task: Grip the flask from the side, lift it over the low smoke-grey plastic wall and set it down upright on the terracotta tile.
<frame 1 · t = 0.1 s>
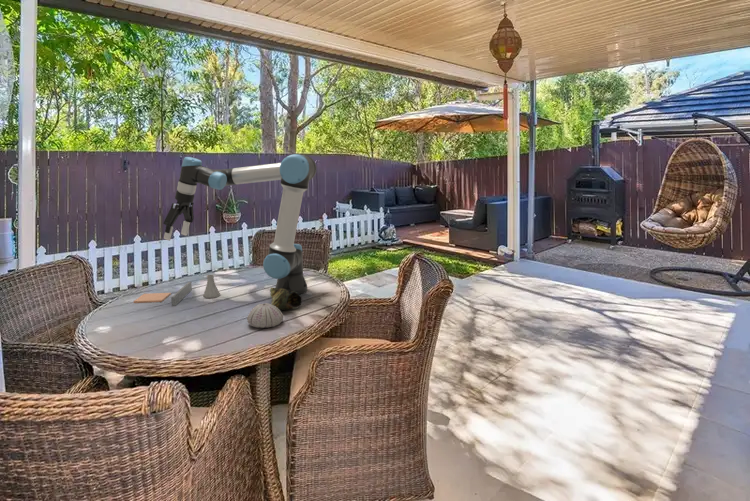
hand: (175, 237, 202), 28 cm above the table, tool tilted 20°, fingers open, 13 cm apart
terracotta tile: (152, 298, 203), on the table
flask: (211, 296, 206), on the table
seashell: (285, 311, 185), on the table
low wall: (182, 297, 204), on the table
sea urchin shell: (265, 324, 170), on the table
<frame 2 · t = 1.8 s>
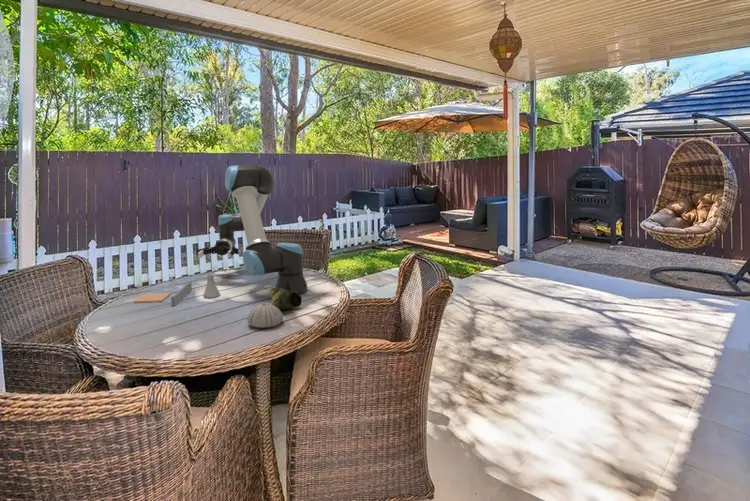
hand: (213, 255, 212), 17 cm above the table, tool horizontal, fingers open, 13 cm apart
nothing on the table moved.
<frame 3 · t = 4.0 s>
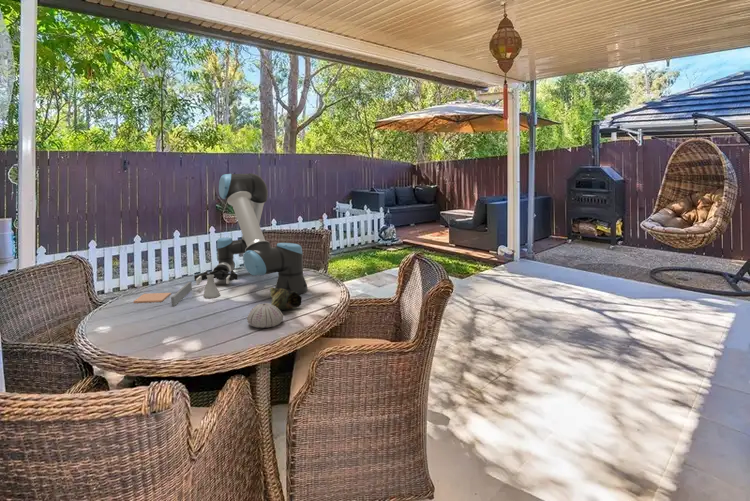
hand: (212, 281, 209), 6 cm above the table, tool horizontal, fingers open, 13 cm apart
nothing on the table moved.
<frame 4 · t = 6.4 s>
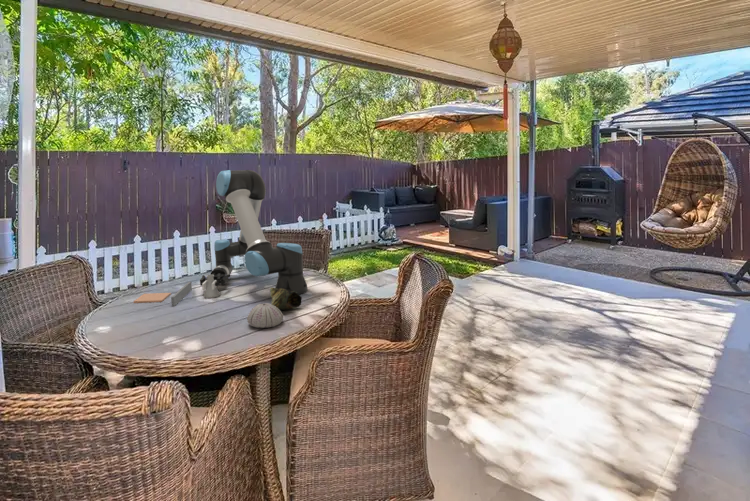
hand: (207, 286, 199), 6 cm above the table, tool horizontal, fingers closed on flask, 3 cm apart
flask: (211, 296, 206), on the table, touching gripper
everything else where it was.
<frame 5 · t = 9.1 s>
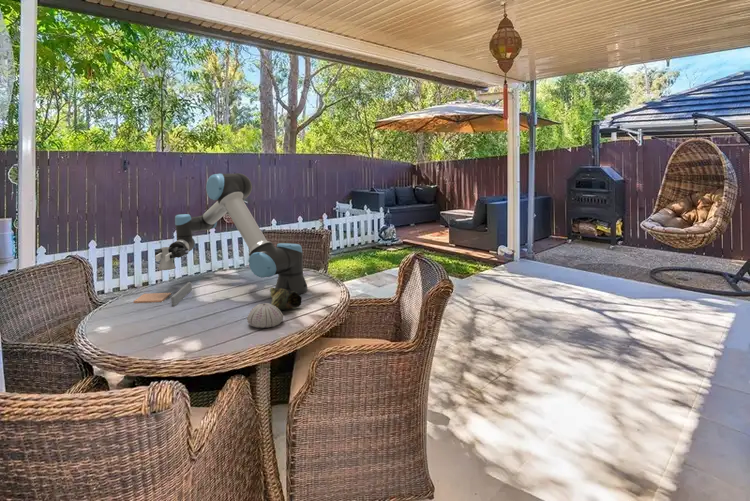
hand: (161, 258, 197), 19 cm above the table, tool horizontal, fingers closed on flask, 3 cm apart
flask: (167, 269, 204), point 13 cm above the table, touching gripper
everything else where it was.
when the fingers open (8 cm above the table, at t = 12.2 s): flask drops 1 cm, resting on terracotta tile.
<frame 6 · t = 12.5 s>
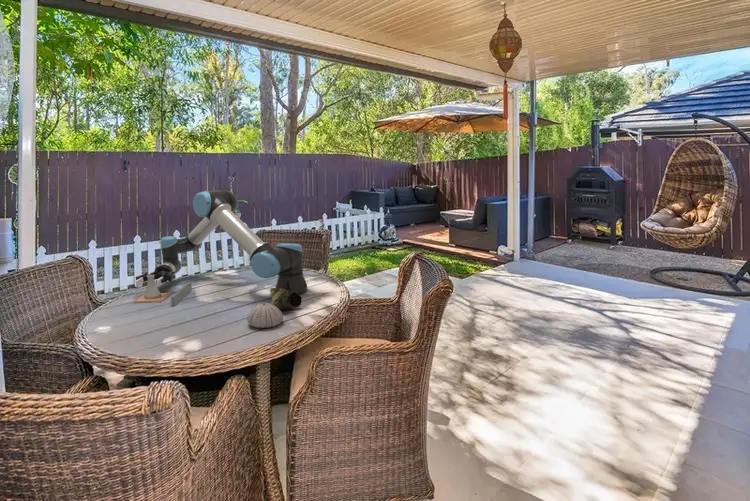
hand: (147, 283, 197), 8 cm above the table, tool horizontal, fingers open, 8 cm apart
flask: (152, 297, 203), point 1 cm above the table, touching terracotta tile
everything else where it was.
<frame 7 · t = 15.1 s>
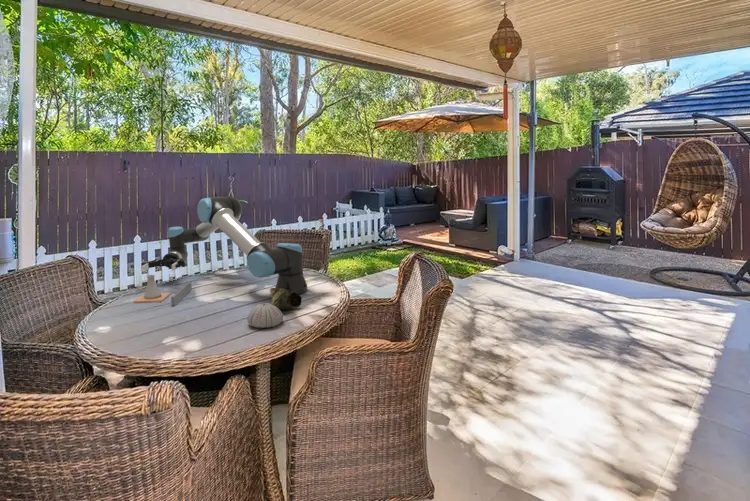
hand: (157, 268, 211), 12 cm above the table, tool horizontal, fingers open, 13 cm apart
nothing on the table moved.
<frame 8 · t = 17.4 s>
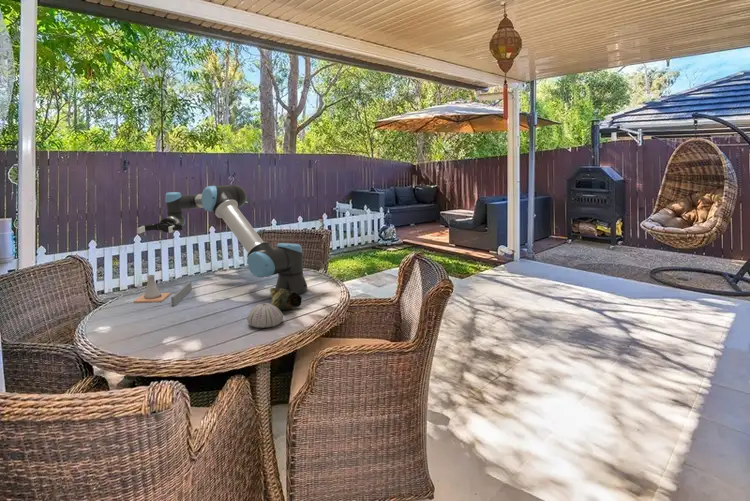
hand: (154, 230, 207), 30 cm above the table, tool horizontal, fingers open, 13 cm apart
nothing on the table moved.
at the end: flask inside the target area on the terracotta tile (0.1 cm from its centre), point 0.6 cm above the terracotta tile's base; flask tilted 0°; the gripper is holding nothing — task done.
